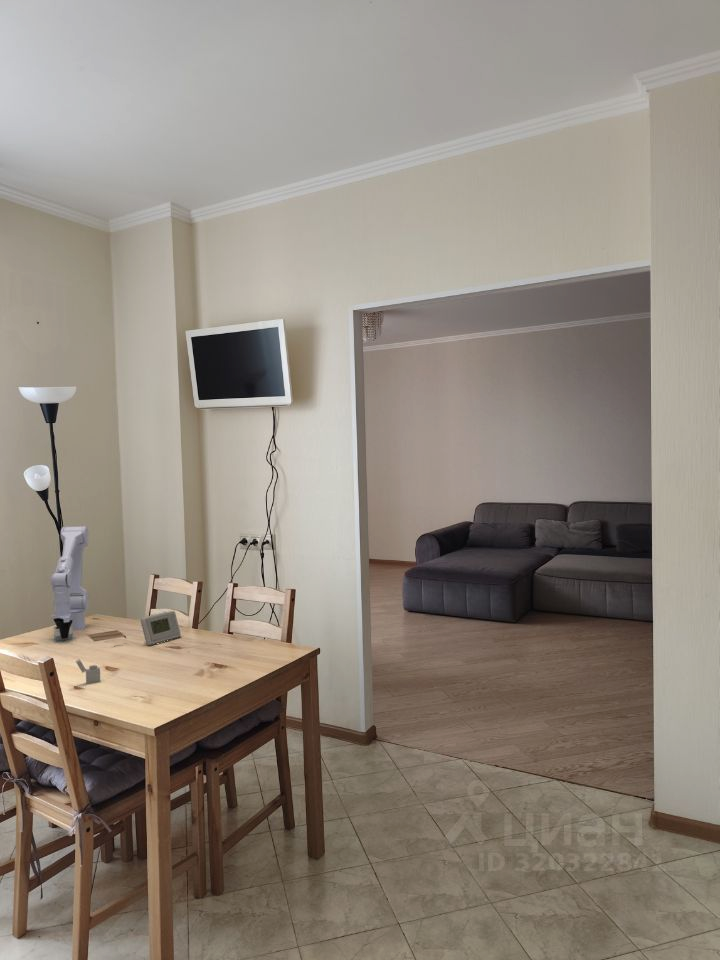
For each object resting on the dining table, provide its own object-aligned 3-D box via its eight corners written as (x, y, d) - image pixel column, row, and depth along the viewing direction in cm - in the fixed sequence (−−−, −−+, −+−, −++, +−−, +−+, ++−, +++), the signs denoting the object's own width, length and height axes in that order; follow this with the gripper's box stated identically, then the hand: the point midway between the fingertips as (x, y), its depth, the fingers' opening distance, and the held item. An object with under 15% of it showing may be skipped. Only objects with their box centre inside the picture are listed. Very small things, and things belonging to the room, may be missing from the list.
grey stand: (50, 642, 272) (50, 639, 271) (72, 639, 276) (72, 635, 276) (54, 647, 265) (54, 643, 265) (76, 643, 270) (76, 639, 269)
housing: (54, 639, 270) (53, 627, 270) (70, 637, 274) (70, 624, 274) (56, 641, 267) (55, 629, 267) (72, 639, 271) (72, 626, 270)
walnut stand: (87, 638, 276) (86, 635, 276) (117, 633, 283) (117, 630, 283) (94, 645, 267) (94, 641, 267) (126, 639, 274) (125, 636, 273)
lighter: (99, 679, 225) (98, 655, 225) (100, 681, 223) (99, 656, 223) (76, 684, 221) (75, 659, 221) (77, 685, 220) (76, 660, 219)
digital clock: (146, 647, 263) (145, 619, 262) (136, 642, 269) (135, 615, 269) (185, 639, 273) (184, 612, 273) (174, 634, 280) (173, 609, 280)
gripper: (47, 601, 274) (48, 635, 274) (55, 607, 262) (56, 642, 262) (66, 598, 278) (67, 632, 278) (74, 604, 266) (75, 639, 266)
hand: (63, 637), depth 270 cm, fingers closed on housing, 4 cm apart
